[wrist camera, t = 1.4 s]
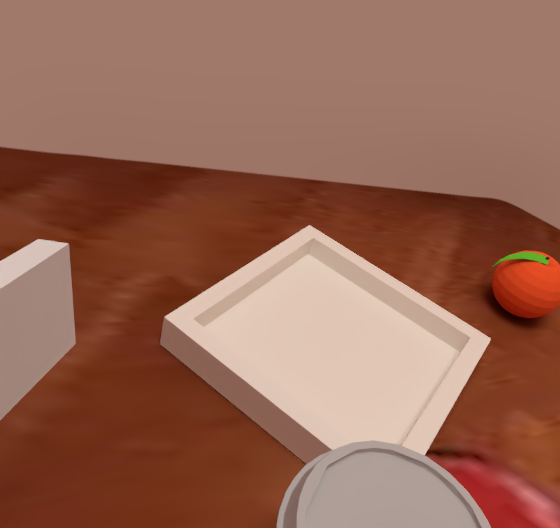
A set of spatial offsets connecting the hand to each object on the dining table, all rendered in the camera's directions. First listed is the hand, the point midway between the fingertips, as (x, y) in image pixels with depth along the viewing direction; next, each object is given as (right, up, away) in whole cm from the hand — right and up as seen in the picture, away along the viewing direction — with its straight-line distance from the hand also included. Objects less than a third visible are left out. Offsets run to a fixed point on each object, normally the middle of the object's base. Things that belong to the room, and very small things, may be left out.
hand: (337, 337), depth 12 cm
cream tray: (+3, -6, +32) cm, 33 cm away
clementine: (+23, -3, +44) cm, 50 cm away
